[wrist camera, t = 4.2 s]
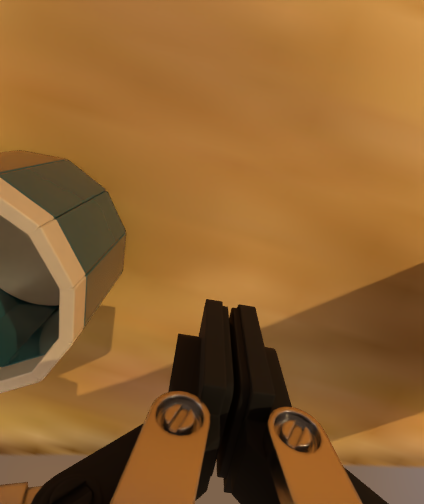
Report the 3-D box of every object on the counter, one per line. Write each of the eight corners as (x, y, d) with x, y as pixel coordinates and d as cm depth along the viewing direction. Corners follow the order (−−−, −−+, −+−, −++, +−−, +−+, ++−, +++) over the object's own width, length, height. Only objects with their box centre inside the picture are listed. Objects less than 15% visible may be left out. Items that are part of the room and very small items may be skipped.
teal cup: (132, 170, 15) (77, 196, 9) (118, 320, 18) (70, 409, 12) (-47, 137, 15) (-216, 143, 9) (-32, 294, 17) (-153, 374, 12)
